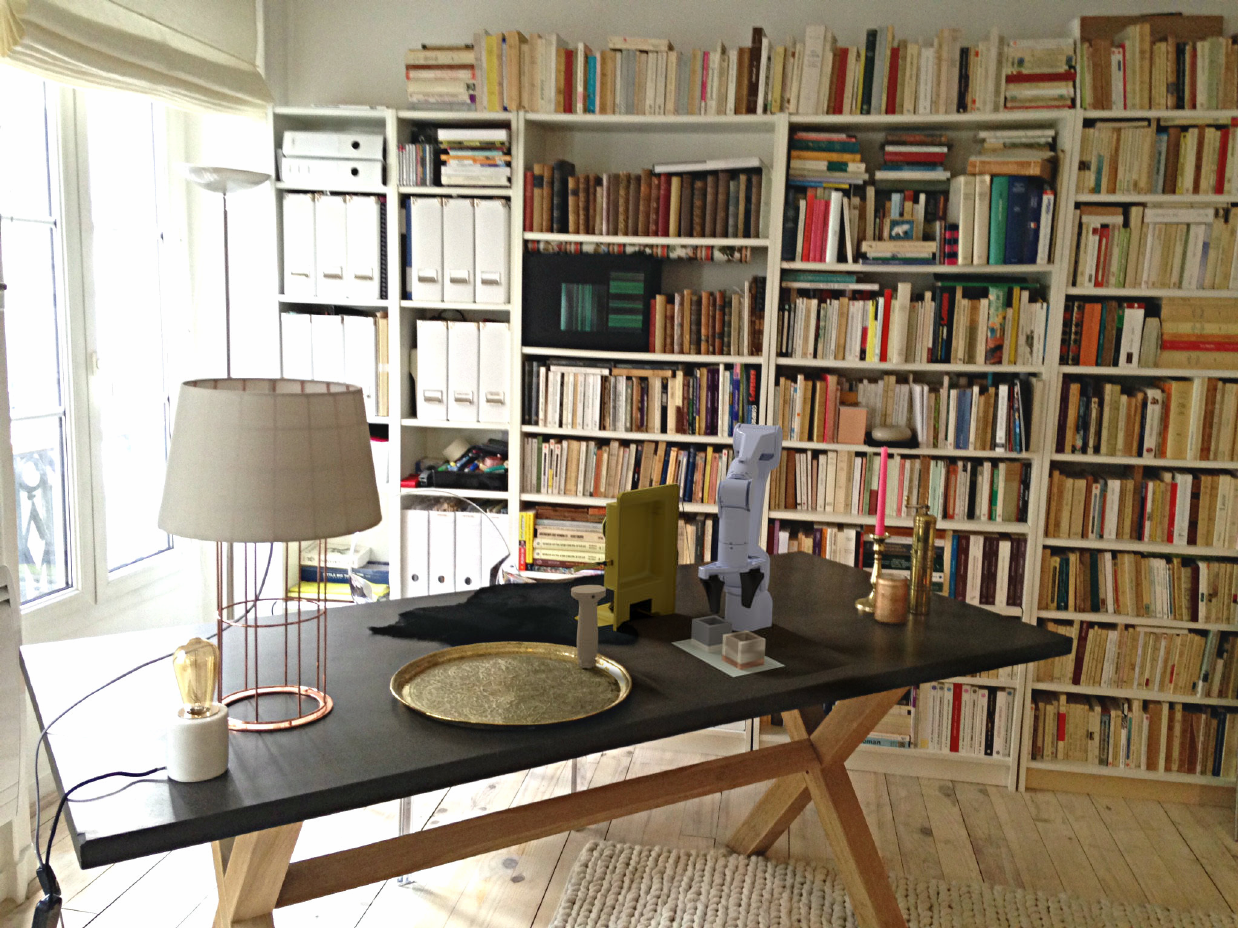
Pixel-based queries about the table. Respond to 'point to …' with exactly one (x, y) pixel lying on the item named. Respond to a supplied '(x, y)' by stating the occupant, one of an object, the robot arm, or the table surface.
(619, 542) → the yellow recessed panel
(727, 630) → the charcoal sleeve
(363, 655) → the table surface
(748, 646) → the birch sleeve
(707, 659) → the pin board
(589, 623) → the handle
